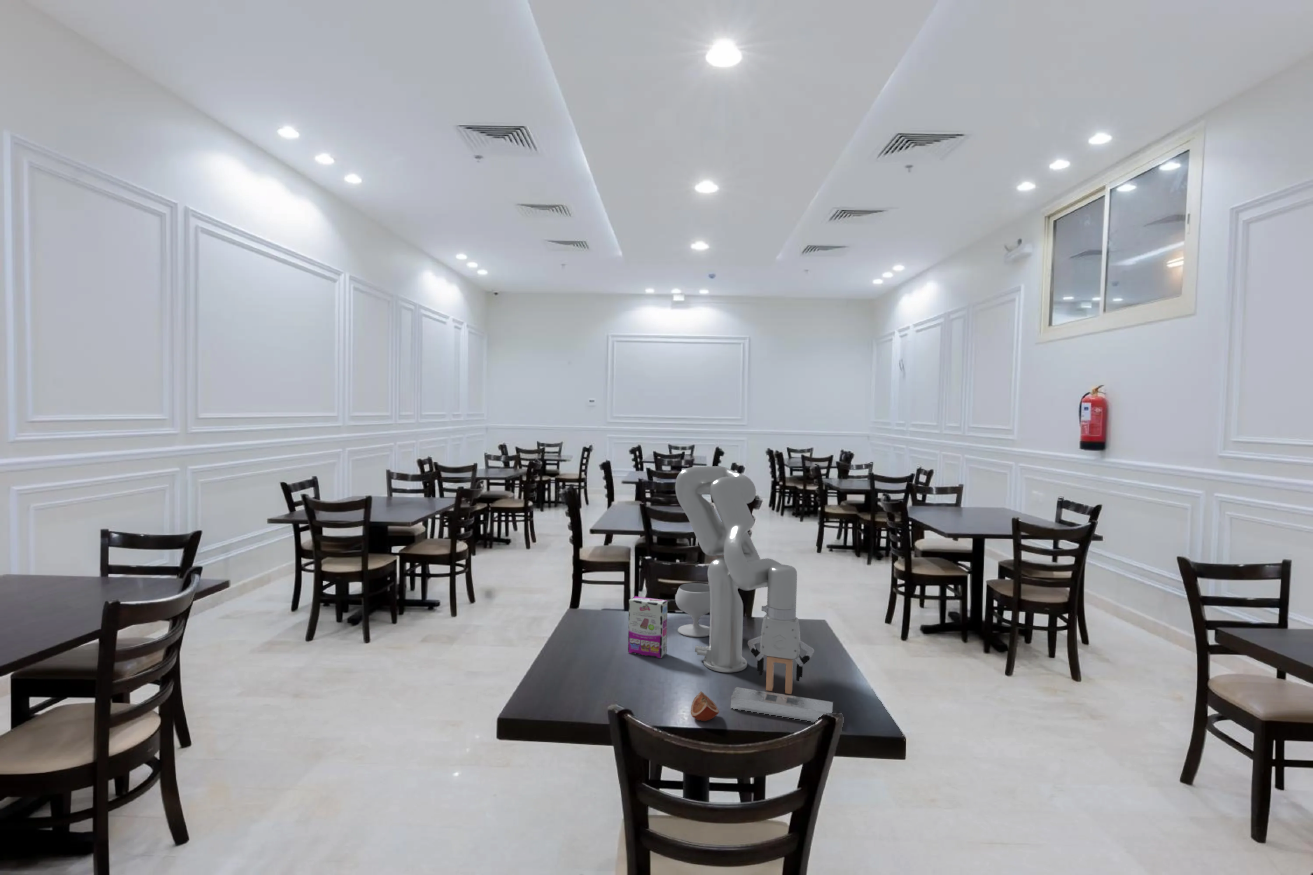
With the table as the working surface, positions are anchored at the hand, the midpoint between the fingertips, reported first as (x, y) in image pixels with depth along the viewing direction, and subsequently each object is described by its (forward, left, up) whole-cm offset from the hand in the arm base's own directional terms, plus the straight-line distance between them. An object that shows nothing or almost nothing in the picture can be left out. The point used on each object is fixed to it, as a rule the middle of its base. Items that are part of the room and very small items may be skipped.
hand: (779, 676), depth 165 cm
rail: (+2, -12, -4) cm, 13 cm away
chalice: (-32, +36, -4) cm, 48 cm away
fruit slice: (-15, -22, -4) cm, 27 cm away
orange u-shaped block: (0, 0, -4) cm, 4 cm away
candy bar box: (-41, +12, -4) cm, 43 cm away
